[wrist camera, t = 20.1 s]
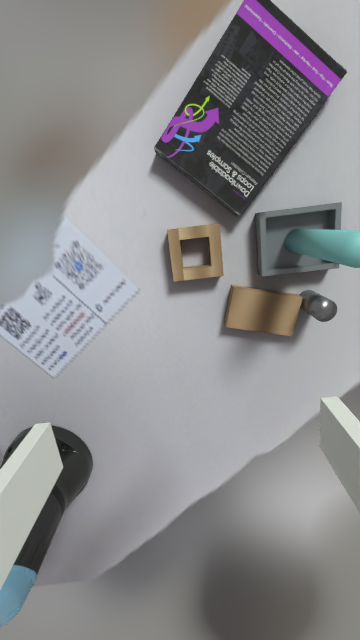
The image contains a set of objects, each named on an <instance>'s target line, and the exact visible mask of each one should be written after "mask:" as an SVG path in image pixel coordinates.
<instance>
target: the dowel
mask: <svg viewBox="0 0 360 640" xmlns="http://www.w3.org/2000/svg"><path fill="white" fill-rule="evenodd" d="M285 246H286V248H287V249H288V250H289V251H291V252H294V253H298V254H302V255H306V256H310V257H314V258H318V259H322V260H326V261H330V262H334V263H338V264H342V265H346V266H350V267H354V268H359V267H360V230H325V229H293V230H291V231H290V232H289V233H288V234H287V235H286V237H285Z"/></svg>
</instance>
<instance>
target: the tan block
mask: <svg viewBox="0 0 360 640" xmlns="http://www.w3.org/2000/svg"><path fill="white" fill-rule="evenodd" d="M302 298H303V297H301V296H300V295H298V294H292V293H285V292H278V291H271V290H264V289H256V288H249V287H242V286H235V285H232V286H231V291H230V296H229V301H228V306H227V312H226V317H225V322H224V323H225V326H226V327H228V328H235V329H242V330H250V331H257V332H264V333H271V334H279V335H286V336H293V332H294V328H295V324H296V321H297V317H298V313H299V310H300V306H301V302H302Z"/></svg>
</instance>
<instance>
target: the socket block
mask: <svg viewBox="0 0 360 640" xmlns="http://www.w3.org/2000/svg"><path fill="white" fill-rule="evenodd" d="M167 233H168V241H169V249H170V257H171V265H172V273H173V281H174V282H175V281H184V280H192V279H201V278H210V277H218V276H223V263H222V250H221V236H220V223H219V224H210V225H202V226H194V227H186V228H178V229H170V230H167ZM201 237H208V242H209V254H210V264H208V265H200V266H191V267H183V261H182V253H181V244H180V240H185V239H193V238H201Z"/></svg>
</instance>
